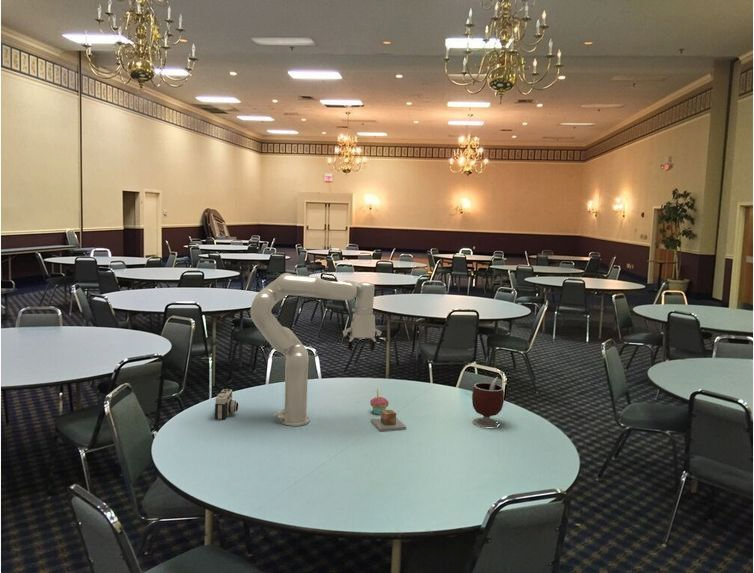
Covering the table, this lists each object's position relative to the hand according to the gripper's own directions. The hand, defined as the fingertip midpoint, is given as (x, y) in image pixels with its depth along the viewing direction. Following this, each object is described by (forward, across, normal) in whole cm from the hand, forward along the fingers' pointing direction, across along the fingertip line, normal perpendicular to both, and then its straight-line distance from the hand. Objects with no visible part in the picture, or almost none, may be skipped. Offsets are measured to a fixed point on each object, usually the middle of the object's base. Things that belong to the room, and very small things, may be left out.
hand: (361, 350), depth 253 cm
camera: (+34, -53, +20) cm, 66 cm away
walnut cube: (+31, +12, -7) cm, 34 cm away
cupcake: (+32, +14, +10) cm, 37 cm away
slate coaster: (+32, +12, -7) cm, 35 cm away
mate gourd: (+31, +58, -13) cm, 67 cm away
